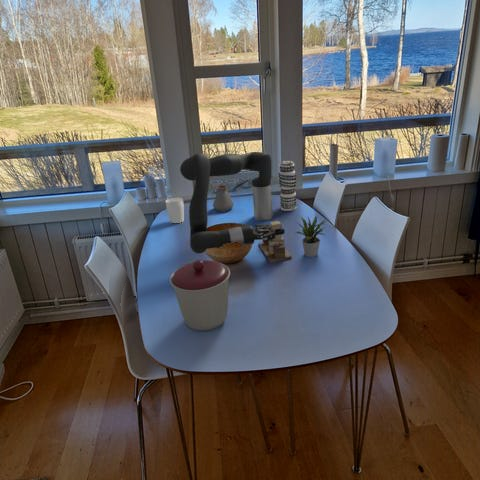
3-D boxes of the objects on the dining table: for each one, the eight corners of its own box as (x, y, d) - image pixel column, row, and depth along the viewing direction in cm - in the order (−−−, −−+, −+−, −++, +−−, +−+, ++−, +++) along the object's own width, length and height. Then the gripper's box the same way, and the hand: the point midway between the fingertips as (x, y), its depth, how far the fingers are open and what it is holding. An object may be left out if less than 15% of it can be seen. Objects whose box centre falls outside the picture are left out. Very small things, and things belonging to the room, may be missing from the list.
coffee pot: (214, 214, 217) (210, 187, 210) (212, 207, 227) (209, 181, 221) (253, 209, 218) (251, 182, 212) (250, 202, 229) (248, 177, 223)
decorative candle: (276, 207, 217) (274, 161, 207) (291, 204, 221) (289, 158, 211) (285, 212, 210) (283, 164, 200) (300, 208, 213) (299, 161, 203)
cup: (184, 224, 206) (181, 202, 201) (167, 225, 207) (163, 203, 202) (187, 218, 214) (184, 196, 210) (170, 219, 215) (166, 197, 210)
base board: (258, 244, 176) (257, 233, 174) (278, 241, 177) (277, 229, 175) (269, 262, 160) (269, 249, 157) (291, 258, 161) (291, 246, 159)
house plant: (330, 263, 154) (330, 224, 148) (293, 263, 157) (292, 224, 151) (330, 247, 167) (330, 210, 160) (296, 247, 170) (295, 211, 163)
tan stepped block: (269, 251, 165) (267, 222, 160) (282, 248, 166) (281, 220, 161) (271, 254, 162) (269, 225, 157) (284, 251, 163) (283, 223, 158)
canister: (182, 344, 117) (171, 281, 109) (174, 312, 133) (163, 254, 125) (242, 329, 121) (235, 267, 113) (226, 299, 137) (220, 243, 129)
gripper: (243, 234, 150) (288, 226, 153) (236, 221, 163) (277, 214, 166) (245, 252, 153) (288, 244, 156) (237, 238, 166) (278, 231, 169)
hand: (282, 229), depth 161 cm, fingers closed on tan stepped block, 3 cm apart
